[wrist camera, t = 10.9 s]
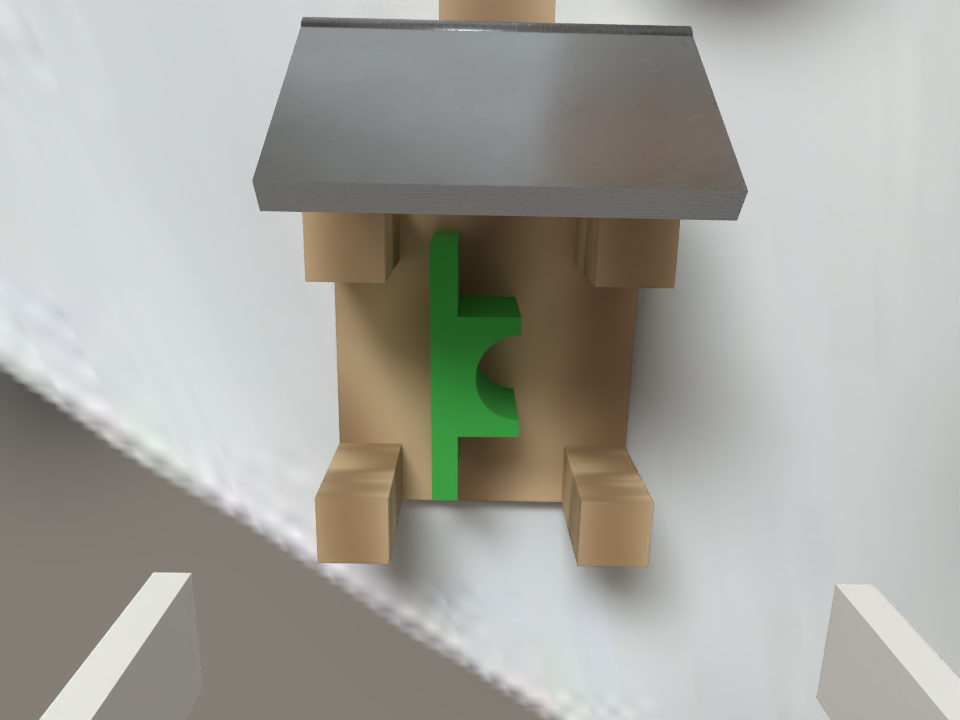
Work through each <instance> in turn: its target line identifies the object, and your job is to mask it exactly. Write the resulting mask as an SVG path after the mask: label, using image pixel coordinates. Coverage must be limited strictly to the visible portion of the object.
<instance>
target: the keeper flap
mask: <svg viewBox="0 0 960 720" xmlns="http://www.w3.org/2000/svg"><path fill="white" fill-rule="evenodd" d="M252 181H253V185H254V189H255V193H256V197H257V200H258V204H259V208H260V211H289V212H340V213H390V214H440V215H490V216H540V217H590V218H640V219H690V220H737V219H738V216H739V213H740V211H741V208H742V205H743V203H744V200H745V197H746V195H747V192H748V190H747V187H746V184H745V181H744V178H743V176H742V173H741V170H740V167H739V164H738V162H737V159H736V156H735V153H734V150H733V148H732V145H731V142H730V139H729V136H728V134H727V131H726V128H725V125H724V122H723V120H722V117H721V114H720V111H719V108H718V106H717V103H716V100H715V97H714V94H713V92H712V89H711V86H710V83H709V80H708V78H707V75H706V72H705V69H704V66H703V64H702V61H701V58H700V55H699V52H698V50H697V47H696V44H695V41H694V38H693V32H692V28H691V26H658V25H617V24H576V23H534V22H493V21H451V20H410V19H369V18H327V17H303V18H302V21H301V28H300V31H299V35H298V38H297V41H296V44H295V47H294V50H293V54H292V57H291V60H290V63H289V66H288V69H287V73H286V76H285V79H284V82H283V85H282V88H281V92H280V95H279V98H278V101H277V104H276V107H275V111H274V114H273V117H272V120H271V123H270V126H269V130H268V133H267V136H266V139H265V142H264V145H263V149H262V152H261V155H260V158H259V161H258V164H257V168H256V171H255V174H254V177H253V180H252Z"/></svg>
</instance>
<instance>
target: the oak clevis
mask: <svg viewBox="0 0 960 720" xmlns="http://www.w3.org/2000/svg"><path fill="white" fill-rule="evenodd" d="M555 1H556V0H439V20H451V21H493V22H534V23H555ZM302 214H303V236H304V259H305V282H335V310H336V340H337V371H338V401H339V431H340V444H339V446H338V448H337V450H336V453H335V455H334V457H333V459H332V462H331V464H330V466H329V468H328V470H327V473H326V475H325V477H324V479H323V482H322V484H321V486H320V488H319V490H318V493H317V495H316V497H315V510H316V533H317V556H318V563H361V564H389V561H390V556H391V551H392V546H393V541H394V536H395V531H396V526H397V521H398V516H399V511H400V506H401V501H402V500H432V451H431V358H430V265H429V243H430V241H431V238H432V236H433V234H434V232H435V231H444V232H459V296H492V297H515V298H516V301H517V304H518V307H519V311H520V314H521V317H522V321H521V335H516V336H510V337H507V338H504V339H501V340H499V341H498V342H496V343H494V344H493V345H492V346H491V347H489V348H488V349H487V350H486V352H485V353H484V354H483V356H482V357H481V359H480V361H479V363H478V367H479V369H480V370H481V372H482V373H483V374H484V375H485V376H486V378H488V379H489V380H490V381H492V382H493V383H495V384H497V385H499V386H502V387H507V388H513V389H514V395H515V400H516V406H517V411H518V417H519V437H459V477H458V500H471V501H544V502H561V503H562V507H563V511H564V515H565V519H566V523H567V527H568V531H569V534H570V538H571V542H572V546H573V550H574V554H575V558H576V562H577V566H603V567H648V561H649V550H650V539H651V528H652V518H653V507H654V502H653V500H652V498H651V496H650V494H649V493H648V491H647V489H646V487H645V485H644V483H643V481H642V479H641V477H640V475H639V473H638V471H637V469H636V467H635V465H634V463H633V462H632V460H631V458H630V456H629V454H628V452H627V450H626V448H625V442H626V429H627V417H628V404H629V391H630V379H631V366H632V354H633V341H634V328H635V316H636V303H637V291H638V288H674V280H675V270H676V259H677V248H678V237H679V227H680V219H640V218H590V217H540V216H490V215H440V214H390V213H340V212H302Z"/></svg>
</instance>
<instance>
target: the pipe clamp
mask: <svg viewBox="0 0 960 720" xmlns="http://www.w3.org/2000/svg"><path fill="white" fill-rule="evenodd" d="M429 265H430V358H431V451H432V501H458V477H459V437H519V417H518V411H517V406H516V400H515V395H514V389H513V388H507V387H502V386H499V385H497V384H495V383H493V382H492V381H490V380H489V379H488V378H486V376H485V375H484V374H483V373H482V372H481V370H480V369H479V367H478V363H479V361H480V359H481V357H482V356H483V354H484V353H485V352H486V350H487V349H488V348H489V347H491V346H492V345H493V344H494V343H496V342H498V341H499V340H501V339H504V338H507V337H510V336H516V335H521V321H522V317H521V314H520V311H519V307H518V304H517V301H516V298H515V297H492V296H459V232H444V231H435V232H434V234H433V236H432V238H431V241H430V243H429Z"/></svg>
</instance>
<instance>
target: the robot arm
mask: <svg viewBox="0 0 960 720" xmlns="http://www.w3.org/2000/svg"><path fill="white" fill-rule="evenodd" d="M193 596H194V595H193V585H192V574H191V573H153V574H152V575H151V576H150V578H149V579H148V580H147V582H146V583H145V584H144V585H143V587H142V588H141V589H140V591H139V592H138V593H137V595H136V596H135V597H134V598H133V600H132V601H131V602H130V604H129V605H128V606H127V608H126V609H125V610H124V611H123V613H122V614H121V615H120V617H119V618H118V619H117V620H116V622H115V623H114V624H113V625H112V627H111V628H110V630H109V631H108V632H107V633H106V635H105V636H104V637H103V638H102V640H101V641H100V642H99V644H98V645H97V646H96V647H95V649H94V650H93V651H92V652H91V654H90V655H89V656H88V658H87V659H86V660H85V662H84V663H83V664H82V665H81V667H80V668H79V669H78V671H77V672H76V673H75V674H74V676H73V677H72V678H71V680H70V681H69V682H68V683H67V685H66V686H65V687H64V689H63V690H62V691H61V693H60V694H59V695H58V696H57V698H56V699H55V700H54V702H53V703H52V704H51V705H50V707H49V708H48V709H47V710H46V712H45V713H44V714H43V716H42V717H41V718H40V720H186V718H187V716H188V714H189V713H190V711H191V709H192V707H193V705H194V703H195V701H196V699H197V697H198V695H199V693H200V691H201V689H202V680H201V670H200V660H199V649H198V638H197V628H196V617H195V606H194V597H193ZM816 698H817V699H818V701H819V702H820V704H821V706H822V707H823V709H824V710H825V712H826V714H827V715H828V717H829V718H830V720H960V679H959V678H958V677H957V676H956V675H955V674H954V672H953V671H952V670H951V669H950V668H949V667H948V666H947V665H946V664H945V663H944V662H943V660H942V659H941V658H940V657H939V656H938V655H937V654H936V653H935V652H934V651H933V650H932V648H931V647H930V646H929V645H928V644H927V643H926V642H925V641H924V640H923V639H922V638H921V636H920V635H919V634H918V633H917V632H916V631H915V630H914V629H913V628H912V627H911V626H910V624H909V623H908V622H907V621H906V620H905V619H904V618H903V617H902V616H901V615H900V614H899V612H898V611H897V610H896V609H895V608H894V607H893V606H892V605H891V604H890V603H889V602H888V600H887V599H886V598H885V597H884V596H883V595H882V594H881V593H880V592H879V591H878V590H877V588H876V587H875V586H874V585H869V584H836V585H835V591H834V596H833V602H832V608H831V614H830V620H829V626H828V632H827V638H826V644H825V650H824V656H823V662H822V668H821V674H820V680H819V686H818V692H817V697H816Z"/></svg>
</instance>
